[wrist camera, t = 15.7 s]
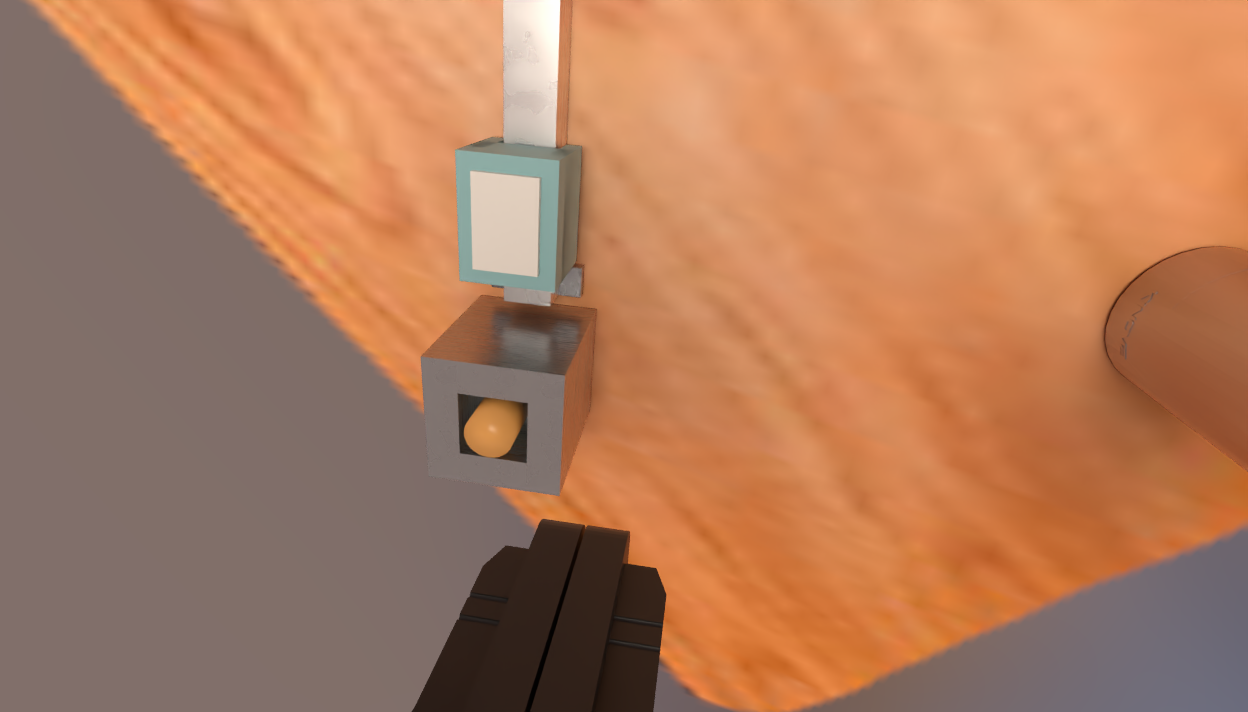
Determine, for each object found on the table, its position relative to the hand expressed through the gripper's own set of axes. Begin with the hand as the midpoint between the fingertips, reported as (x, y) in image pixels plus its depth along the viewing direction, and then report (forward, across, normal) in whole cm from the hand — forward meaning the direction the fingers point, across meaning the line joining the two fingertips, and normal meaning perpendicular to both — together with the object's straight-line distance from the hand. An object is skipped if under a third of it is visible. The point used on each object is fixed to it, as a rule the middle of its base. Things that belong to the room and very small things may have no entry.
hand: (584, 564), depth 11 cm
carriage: (+30, +9, 0) cm, 31 cm away
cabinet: (+31, +9, +12) cm, 34 cm away
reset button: (+25, +9, +12) cm, 29 cm away
